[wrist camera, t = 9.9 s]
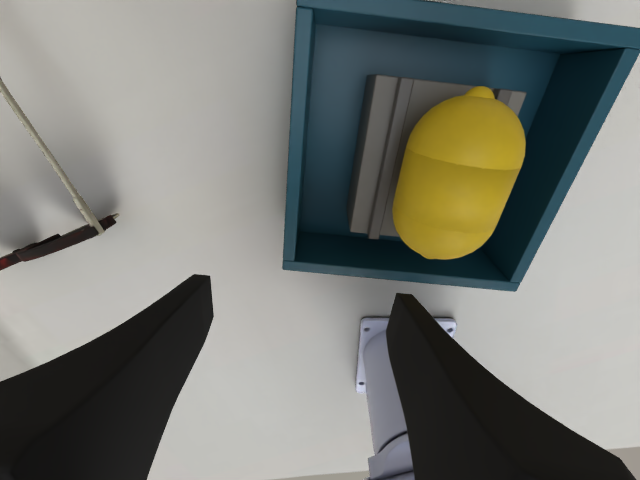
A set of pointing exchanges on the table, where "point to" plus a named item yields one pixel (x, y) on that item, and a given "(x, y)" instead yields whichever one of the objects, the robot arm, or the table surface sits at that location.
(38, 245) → the sunglasses
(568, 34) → the crate
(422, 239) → the lemon
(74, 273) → the table surface
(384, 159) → the grey block
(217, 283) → the table surface
